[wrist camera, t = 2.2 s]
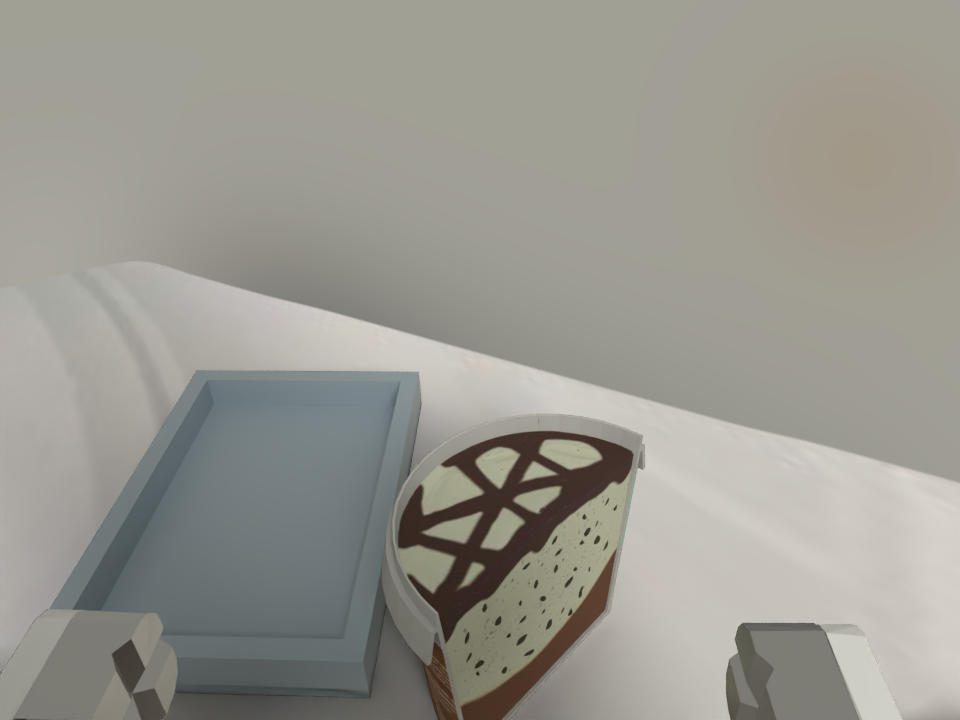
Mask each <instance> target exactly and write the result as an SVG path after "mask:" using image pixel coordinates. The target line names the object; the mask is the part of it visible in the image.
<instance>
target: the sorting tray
mask: <svg viewBox="0 0 960 720" xmlns="http://www.w3.org/2000/svg"><path fill="white" fill-rule="evenodd" d="M420 409H421V393H420V381H419V372H358V371H206V370H197V371H196V373H195V374H194V376H193V378H192V379H191V381H190V382H189V384H188V386H187V387H186V389H185V391H184V392H183V394H182V395H181V397H180V399H179V400H178V402H177V404H176V405H175V407H174V408H173V410H172V412H171V413H170V415H169V417H168V418H167V420H166V421H165V423H164V425H163V426H162V428H161V430H160V431H159V433H158V434H157V436H156V438H155V439H154V441H153V442H152V444H151V446H150V447H149V449H148V451H147V452H146V454H145V455H144V457H143V459H142V460H141V462H140V464H139V465H138V467H137V468H136V470H135V472H134V473H133V475H132V477H131V478H130V480H129V481H128V483H127V485H126V486H125V488H124V490H123V491H122V493H121V494H120V496H119V498H118V499H117V501H116V502H115V504H114V506H113V507H112V509H111V511H110V512H109V514H108V515H107V517H106V519H105V520H104V522H103V524H102V525H101V527H100V528H99V530H98V532H97V533H96V535H95V537H94V538H93V540H92V541H91V543H90V545H89V546H88V548H87V550H86V551H85V553H84V554H83V556H82V558H81V559H80V561H79V562H78V564H77V566H76V567H75V569H74V571H73V572H72V574H71V575H70V577H69V579H68V580H67V582H66V584H65V585H64V587H63V588H62V590H61V592H60V593H59V595H58V597H57V598H56V600H55V601H54V603H53V605H52V606H51V608H50V609H61V610H89V611H117V612H145V613H157V614H158V616H159V618H160V620H161V623H162V625H163V627H164V628H163V631H162V633H161V635H160V637H159V638H160V639H161V640H163V641H164V642H166V643H167V644H169V645H170V646H171V647H172V648H173V650H174V653H175V656H176V659H177V669H178V675H177V681H176V687H175V692H181V693H217V694H253V695H289V696H325V697H360V698H370V694H371V688H372V683H373V677H374V671H375V665H376V660H377V654H378V648H379V643H380V637H381V631H382V626H383V620H384V614H385V609H386V599H385V594H384V590H383V585H382V556H383V549H384V543H385V537H386V531H387V526H388V521H389V516H390V513H391V510H392V508H393V506H394V503H395V501H396V498H397V496H398V494H399V493H400V491H401V489H402V486H403V484H404V483H405V481H406V480H407V478H408V477H409V472H410V466H411V461H412V455H413V449H414V443H415V438H416V432H417V426H418V421H419V415H420Z"/></svg>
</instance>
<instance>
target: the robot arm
mask: <svg viewBox="0 0 960 720" xmlns="http://www.w3.org/2000/svg"><path fill="white" fill-rule="evenodd" d="M163 628H164V627H163V625H162V623H161V620H160V618H159V616H158V614H157V613H145V612H117V611H89V610H61V609H47V610H46V611H45V612H44V613H42V614H41V615H40V616H39V617H37V618H36V619H35V621H34V622H33V624H32V625H31V627H30V628H29V630H28V632H27V633H26V635H25V636H24V638H23V639H22V641H21V643H20V644H19V646H18V647H17V649H16V650H15V652H14V654H13V655H12V657H11V658H10V660H9V661H8V663H7V665H6V666H5V668H4V669H3V671H2V673H1V674H0V720H161V719H162V718H163V717H164V716H165V715H166V714H167V712H168V709H169V706H170V704H171V701H172V699H173V696H174V693H175V687H176V681H177V675H178V669H177V659H176V656H175V653H174V650H173V648H172V647H171V646H170V645H169V644H167V643H166V642H164V641H163V640H161V639H160V638H159V637H160V635H161V633H162V631H163ZM735 642H736V645H737V649H738V653H737V654H736V655H734V656H733V657H732V658H730V659H729V663H728V668H727V673H726V696H727V703H728V710H729V715H730V719H731V720H903V718H902V716H901V714H900V712H899V709H898V707H897V705H896V703H895V701H894V698H893V696H892V694H891V692H890V690H889V687H888V685H887V683H886V681H885V678H884V676H883V674H882V672H881V670H880V667H879V665H878V663H877V661H876V659H875V656H874V654H873V652H872V650H871V648H870V645H869V643H868V641H867V639H866V636H865V634H864V632H863V631H862V630H861V629H860V628H859V627H858V626H856V625H851V624H834V625H816V624H814V623H742V624H741V625H740V626H739V627H738V630H737V633H736V637H735Z"/></svg>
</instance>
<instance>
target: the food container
mask: <svg viewBox="0 0 960 720" xmlns="http://www.w3.org/2000/svg"><path fill="white" fill-rule="evenodd" d="M642 438H643V436H642V435H640V434H638V433H635V432H633V431H631V430H629V429H626V428H624V427H621V426H618V425H615V424H611V423H608V422H605V421H601V420H597V419H592V418H587V417H582V416H573V415H564V414H531V415H519V416H513V417H508V418H502V419H497V420H494V421H490V422H487V423H484V424H480V425H477V426H475V427H472V428H470V429H468V430H466V431H463V432H461V433H459V434H457V435H455V436H453V437H452V438H450V439H448V440H447V441H445V442H443V443H442V444H440V445H439V446H438V447H436V448H435V449H434V450H433V451H431V452H430V453H429V454H428V455H426V456H425V457H424V459H423V460H422V461H421V462H420V463H419V464H418V465H417V466H416V467H415V468H414V469H413V471H412V472H411V474H410V475H409V477H408V478H407V480H406V481H405V483H404V484H403V486H402V489H401V491H400V493H399V494H398V496H397V498H396V501H395V503H394V506H393V508H392V510H391V513H390V516H389V521H388V526H387V531H386V537H385V543H384V549H383V556H382V585H383V590H384V594H385V599H386V604H387V606H388V609H389V611H390V613H391V616H392V618H393V621H394V623H395V625H396V627H397V629H398V630H399V632H400V633H401V635H402V636H403V638H404V639H405V641H406V642H407V644H408V645H409V647H410V648H411V649H412V650H413V651H414V652H415V653H416V654H417V655H418V656H419V658H420V659H421V660H422V663H423V667H424V670H425V674H426V678H427V681H428V685H429V689H430V692H431V696H432V700H433V703H434V707H435V711H436V714H437V717H438V719H439V720H509V719H510V718H511V717H512V716H513V715H514V714H515V713H516V712H517V711H518V710H519V709H520V707H521V706H522V705H523V704H524V703H525V702H526V701H527V700H528V699H529V698H530V697H531V696H532V695H533V694H534V693H535V691H536V690H537V689H538V688H539V687H540V686H541V685H542V684H543V683H544V682H545V681H546V680H547V679H548V678H549V677H550V675H551V674H552V673H553V672H554V671H555V670H556V669H557V668H558V667H559V666H560V665H561V664H562V663H563V662H564V660H565V659H566V658H567V657H568V656H569V655H570V654H571V653H572V652H573V651H574V650H575V649H576V648H577V647H578V646H579V644H580V643H581V642H582V641H583V640H584V639H585V638H586V637H587V636H588V635H589V634H590V633H591V632H592V631H593V630H594V628H595V627H596V626H597V625H598V624H599V623H600V622H601V621H602V620H603V619H604V618H605V617H606V616H607V615H608V614H609V612H610V607H611V602H612V597H613V591H614V586H615V581H616V576H617V571H618V566H619V560H620V555H621V550H622V545H623V540H624V535H625V529H626V524H627V519H628V514H629V509H630V504H631V498H632V493H633V488H634V483H635V478H636V473H637V467H638V468H640V469H642V470H643V469H644V468H645V445H644V444H642Z"/></svg>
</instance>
